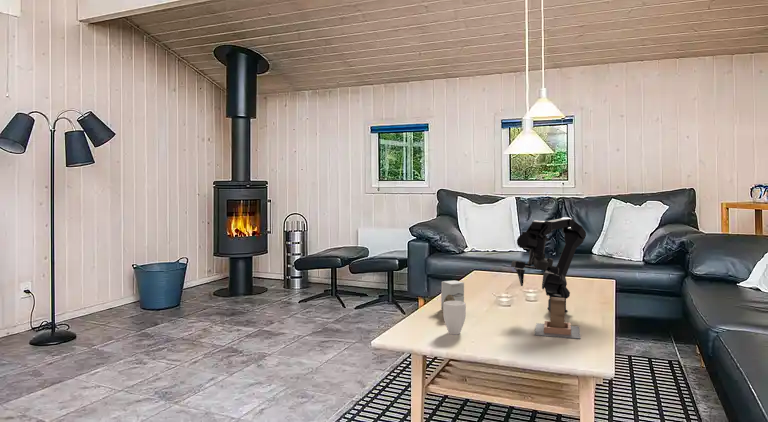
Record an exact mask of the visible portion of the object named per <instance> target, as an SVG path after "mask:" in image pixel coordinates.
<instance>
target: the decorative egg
mask: <svg viewBox="0 0 768 422" xmlns="http://www.w3.org/2000/svg"><path fill="white" fill-rule="evenodd" d="M446 301H455V299H454V297H453V296H452V295H450V294H449V295H447V296H446V298H445V300H444V302H446ZM444 302H443V303H444ZM441 311H442V312H443V307H442V309H441Z"/></svg>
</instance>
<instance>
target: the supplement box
mask: <svg viewBox="0 0 768 422" xmlns="http://www.w3.org/2000/svg"><path fill="white" fill-rule="evenodd" d="M440 293H441V300H440V303H441V304H440V306H441V307H440V308H441V310H442V307H443V302H444V300H445V298H446V296H447V295H449V294H450V295H452V296H453V297H454V299H455V301H462V302H465V301H464V300H465V282H463V281H459V280H456V279H455V280H444V281H441V291H440Z"/></svg>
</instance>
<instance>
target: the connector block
mask: <svg viewBox="0 0 768 422" xmlns="http://www.w3.org/2000/svg"><path fill="white" fill-rule="evenodd" d="M565 314H566V312H565V298H558V297H551V310H550V314H549V315H550V318H549V319H550V327H554V328H564V322H565V319H566V318H565Z"/></svg>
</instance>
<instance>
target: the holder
mask: <svg viewBox="0 0 768 422" xmlns="http://www.w3.org/2000/svg"><path fill="white" fill-rule="evenodd" d="M534 329H535V330H534V333H533V335H534V336H535V337H536V336H537V337H538V336H539V337H549V338H550V337H551V338H559V339H574V340H581V330H580V326H579V325H572V324H571V322H565V321H564V328H554V327H550V321H549V320H545V321H544V322H543V323H541V322H540V323H539V322H536V324H535V328H534Z"/></svg>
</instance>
